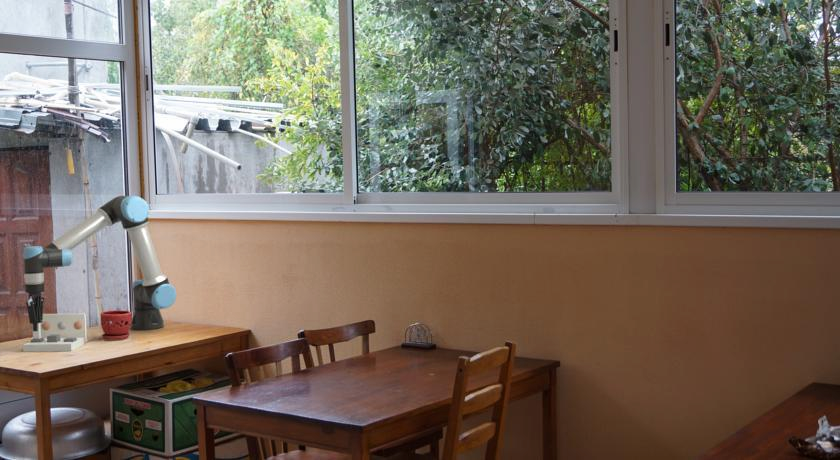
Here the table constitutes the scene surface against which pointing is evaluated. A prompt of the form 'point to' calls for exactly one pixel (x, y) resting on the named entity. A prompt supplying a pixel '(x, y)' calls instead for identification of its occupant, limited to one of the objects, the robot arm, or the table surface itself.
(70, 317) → the pattern sign
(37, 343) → the console
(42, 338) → the outer button
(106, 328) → the plant pot
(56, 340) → the middle button
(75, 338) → the outer button
